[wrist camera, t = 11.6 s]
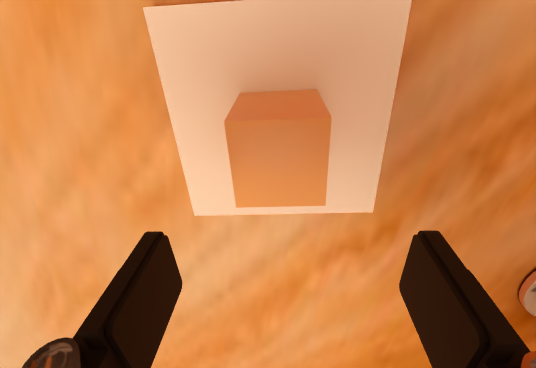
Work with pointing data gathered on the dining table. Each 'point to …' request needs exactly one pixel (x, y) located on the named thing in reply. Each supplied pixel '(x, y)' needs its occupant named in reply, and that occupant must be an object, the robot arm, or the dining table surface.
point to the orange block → (279, 148)
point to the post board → (280, 85)
